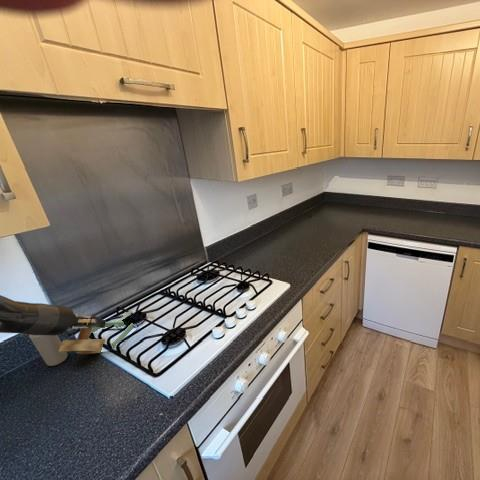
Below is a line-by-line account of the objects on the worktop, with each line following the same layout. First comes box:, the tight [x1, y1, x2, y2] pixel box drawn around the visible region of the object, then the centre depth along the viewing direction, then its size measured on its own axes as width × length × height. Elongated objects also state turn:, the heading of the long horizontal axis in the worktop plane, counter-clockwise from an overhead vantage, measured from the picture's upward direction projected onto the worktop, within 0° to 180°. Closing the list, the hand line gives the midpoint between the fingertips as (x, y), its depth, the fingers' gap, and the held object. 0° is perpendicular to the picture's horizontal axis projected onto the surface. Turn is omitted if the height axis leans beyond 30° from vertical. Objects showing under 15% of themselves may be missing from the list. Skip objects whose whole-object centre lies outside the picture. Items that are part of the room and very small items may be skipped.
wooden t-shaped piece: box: [59, 314, 101, 353], centre depth 77 cm, size 8×4×10 cm
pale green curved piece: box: [74, 310, 134, 354], centre depth 88 cm, size 18×13×3 cm
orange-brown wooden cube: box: [77, 339, 105, 355], centre depth 79 cm, size 4×4×4 cm
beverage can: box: [28, 335, 69, 367], centre depth 76 cm, size 5×5×12 cm
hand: (99, 323), depth 82 cm, fingers closed on wooden t-shaped piece, 2 cm apart
